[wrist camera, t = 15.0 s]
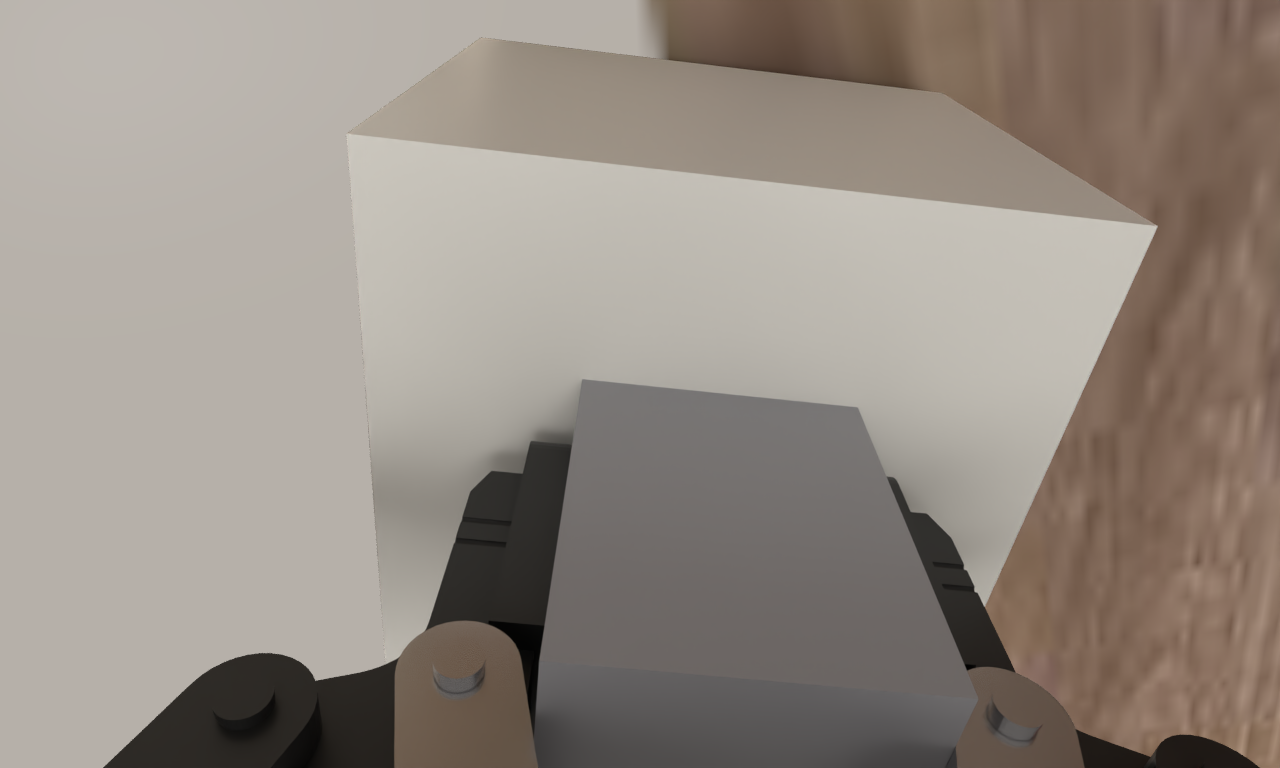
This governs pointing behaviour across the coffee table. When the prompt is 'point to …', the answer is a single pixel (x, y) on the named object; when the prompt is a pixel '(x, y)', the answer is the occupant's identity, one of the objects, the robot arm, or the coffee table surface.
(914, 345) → the stacked blocks
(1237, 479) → the coffee table surface
